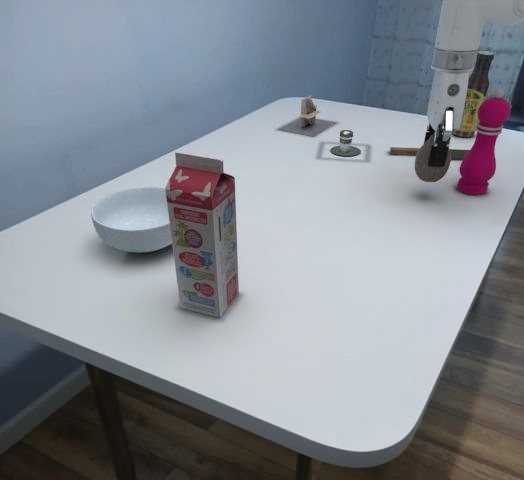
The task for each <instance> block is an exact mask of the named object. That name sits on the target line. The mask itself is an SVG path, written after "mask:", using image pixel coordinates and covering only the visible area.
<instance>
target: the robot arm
mask: <svg viewBox="0 0 524 480" xmlns="http://www.w3.org/2000/svg"><path fill="white" fill-rule="evenodd" d="M441 3H442V4H441V8H440V13H439V19H438V25H437V31H436V36H435V40H434V41H435V42H434V47H433V52H432V57H431V63H430V69H431V70H433V71H435V72H434V74H433V79H432V84H431V88H430V93H429V94H430V95H429V98H428V105H427V113H426V117H427V121H428V122H427V126H426V131H425V135H424V140H423V144H424V143H425V142H426V141H427V140H429V138H430V137H431V135H432V134H434V133H435V136H434V145H432V146H431V151H430V156H429V161H428V166H429V167H444V166H445V163H446V158H447V154H448V149H450V143H451V139H452V138H451V137H452V135H453V133H452V129H454V130H455V131H458V130H459V129H460V125H461V120H462V115H463V110H464V105H465V99H466V94H467V87H468V80H469V77H470V73H471V72H473V70H474V67H475V64H476V60H477V58H476V57H477V54H478V52H479V48H480V44H481V40H482V35H483V33H484V32H483V31H484V28H485V25H499V26H509V27H510V26H515V25H518V24H521V23H523V22H524V0H442V2H441ZM439 134H443V135H440V136H439ZM438 137H439V139H438Z"/></svg>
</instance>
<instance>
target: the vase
mask: <svg viewBox="0 0 524 480" xmlns="http://www.w3.org/2000/svg"><path fill="white" fill-rule="evenodd" d="M440 135H443V133H442V134H439V136H440ZM434 136H435V133H434V134H432V135H431V137H430V138H429V140H427V141H426V142H425V143H424V142H423V144H422V145H421V146H420V147H419V148H420V149H419V151H418V153H417V155H416V156H415V159H414V172H415V175H416V176H417V178H418V179H419V180H420V181H422V182H424V183H437V182H439V181H440V180H441V179H442V178H444V177H445V176H446V174H447V172H448V171H449V168H450V165H451V162H452V160H451V153H450V149H451V148H449V149H448V154H447V158H446V163H445V166H444V167H429V166H428V161H429V156H430V151H431V146H432V145H434ZM438 139H439V137H438Z"/></svg>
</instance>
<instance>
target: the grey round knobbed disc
mask: <svg viewBox="0 0 524 480" xmlns="http://www.w3.org/2000/svg"><path fill="white" fill-rule="evenodd" d="M353 138H354V131H352V130H350V129H341V130H340V132H339V145H335V146H332V147H331V148H330V149H329V150H330V153H331V154H333V155H334V156H339V157H355V156H358V155H360V154H361V152H362V150H361V149H360V148H359V147H357V146H353V145H352V142H353Z"/></svg>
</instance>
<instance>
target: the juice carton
mask: <svg viewBox="0 0 524 480" xmlns="http://www.w3.org/2000/svg"><path fill="white" fill-rule="evenodd" d="M174 155H175V157H174V158H175V167H174V169H173V171H172V173H171V175H170V177H169V178H168V181H167V183H166V186H165V187H164V188H165V191H166V199H167V207H168V214H169V222H170V230H171V237H172V244H171V245H172V253H173V259H174V267H175V275H176V283H177V291H178V299H179V307H180V309H183V310H187V311H191V312H195V313H199V314H202V315H206V316H211V317H213V318H214V317H215V318H218V319H221V318H222V316H223V315H224V314H225V313H226V311H227V310H228V309H229V308H230V307H231V305H232V304H233V303H234V301H235V300H236V299H237V298H238V296H239V295H240V291H239V290H240V289H239V287H240V286H239V262H238V261H239V260H238V259H239V258H238V234H237V233H238V230H237V229H238V228H237V203H236V201H237V200H236V199H237V198H236V177H234V175H231V174H228V173H225V172H224V171H225V170H224V159H220V158H219V159H218V158H212V157H205V156H198V155H195V154H188V153H181V152H176V151H175V153H174Z"/></svg>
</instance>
